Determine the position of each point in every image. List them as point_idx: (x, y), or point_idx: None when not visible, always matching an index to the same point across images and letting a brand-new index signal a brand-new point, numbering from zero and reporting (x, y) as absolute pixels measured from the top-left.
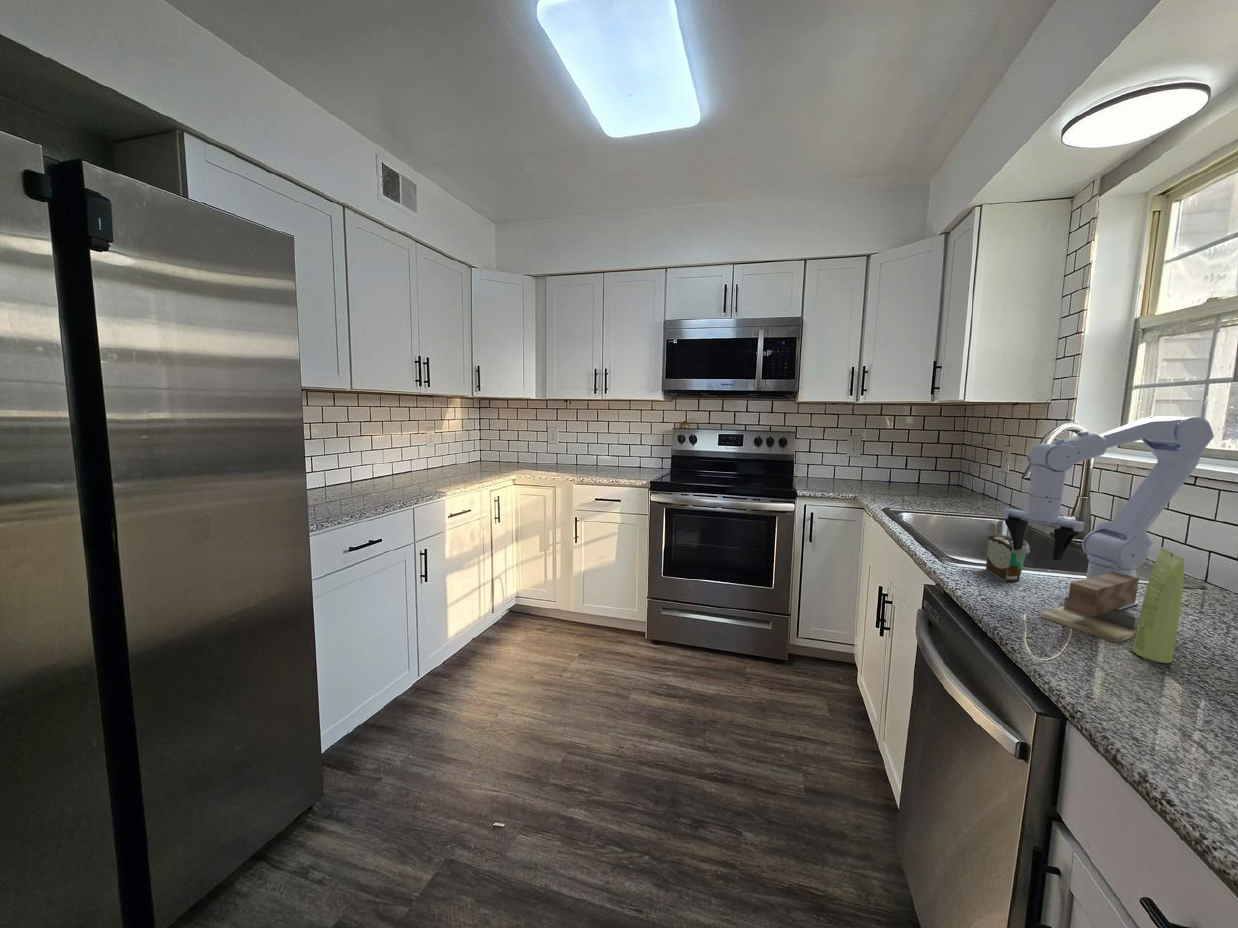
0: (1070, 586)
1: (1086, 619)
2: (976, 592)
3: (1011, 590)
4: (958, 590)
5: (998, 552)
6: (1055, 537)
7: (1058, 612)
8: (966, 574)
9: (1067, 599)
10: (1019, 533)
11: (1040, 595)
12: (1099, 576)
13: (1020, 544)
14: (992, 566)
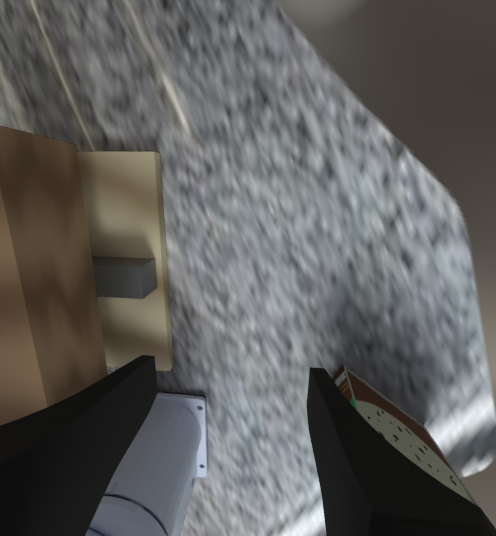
0: (2, 126)
1: (90, 219)
2: (344, 180)
3: (301, 305)
4: (386, 136)
5: (422, 467)
6: (51, 430)
7: (139, 202)
8: (441, 330)
9: (138, 265)
10: (330, 467)
11: (246, 336)
12: (28, 344)
13: (311, 415)
14: (410, 426)
